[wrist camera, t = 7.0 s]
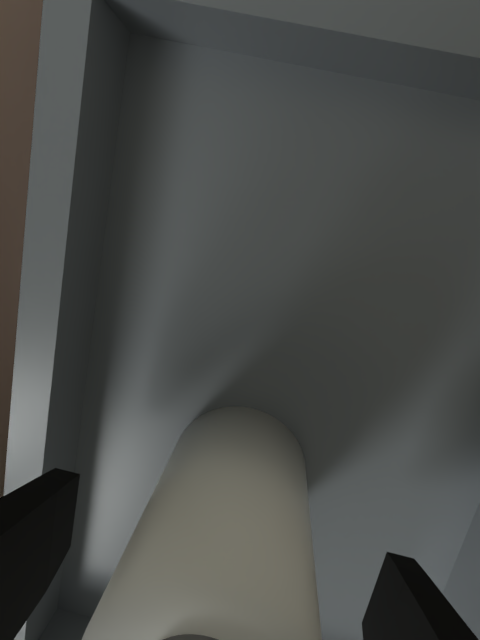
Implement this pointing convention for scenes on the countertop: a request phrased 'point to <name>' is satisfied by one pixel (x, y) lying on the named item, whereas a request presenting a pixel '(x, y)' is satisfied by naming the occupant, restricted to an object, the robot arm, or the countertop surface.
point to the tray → (257, 274)
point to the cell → (220, 541)
